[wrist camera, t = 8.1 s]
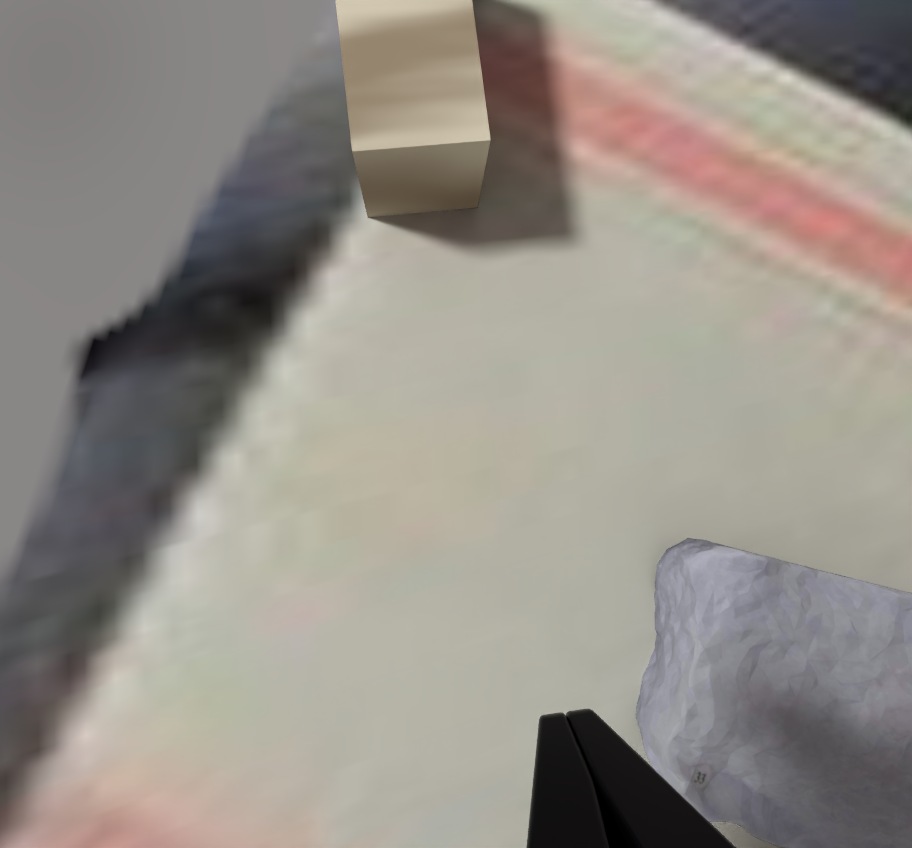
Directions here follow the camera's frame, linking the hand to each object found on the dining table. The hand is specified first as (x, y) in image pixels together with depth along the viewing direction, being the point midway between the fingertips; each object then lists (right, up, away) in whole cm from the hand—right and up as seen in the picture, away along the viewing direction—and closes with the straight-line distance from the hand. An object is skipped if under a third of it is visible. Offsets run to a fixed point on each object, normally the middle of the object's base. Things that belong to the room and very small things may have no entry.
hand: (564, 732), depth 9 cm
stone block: (+11, -5, +13) cm, 18 cm away
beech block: (-3, +14, +11) cm, 18 cm away
